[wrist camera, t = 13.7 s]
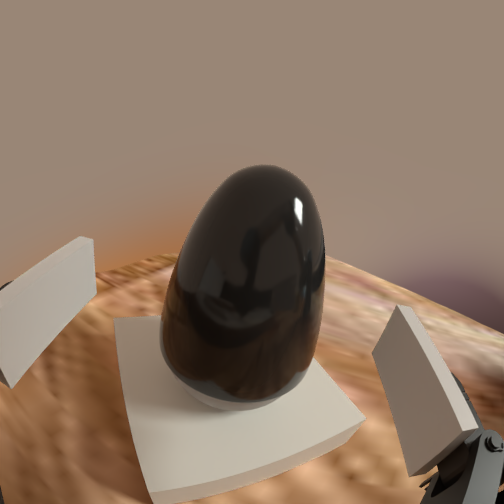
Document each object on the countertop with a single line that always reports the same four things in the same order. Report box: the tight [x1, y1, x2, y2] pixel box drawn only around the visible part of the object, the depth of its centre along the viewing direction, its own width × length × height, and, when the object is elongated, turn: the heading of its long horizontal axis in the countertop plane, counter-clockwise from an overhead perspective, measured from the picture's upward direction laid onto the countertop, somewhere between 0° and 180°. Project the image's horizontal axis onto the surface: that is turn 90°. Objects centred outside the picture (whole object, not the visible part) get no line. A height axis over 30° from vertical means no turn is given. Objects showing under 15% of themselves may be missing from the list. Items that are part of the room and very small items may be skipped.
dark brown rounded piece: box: [159, 165, 325, 411], centre depth 17 cm, size 10×10×15 cm
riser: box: [114, 315, 366, 504], centre depth 21 cm, size 16×16×4 cm
